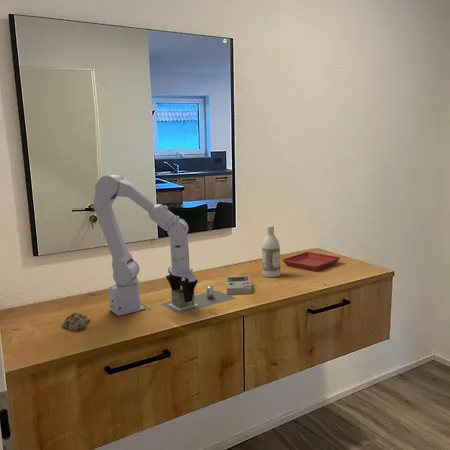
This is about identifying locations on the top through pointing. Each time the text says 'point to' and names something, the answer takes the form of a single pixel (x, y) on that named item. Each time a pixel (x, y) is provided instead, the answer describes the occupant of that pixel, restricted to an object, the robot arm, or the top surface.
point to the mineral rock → (76, 322)
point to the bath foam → (271, 254)
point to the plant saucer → (311, 261)
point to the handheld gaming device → (238, 285)
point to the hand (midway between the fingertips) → (182, 298)
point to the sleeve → (180, 299)
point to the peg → (209, 292)
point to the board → (201, 302)
